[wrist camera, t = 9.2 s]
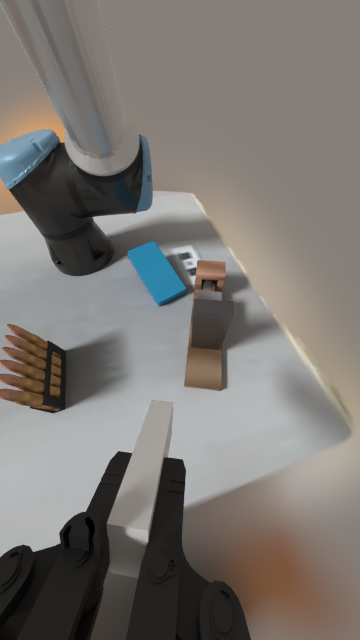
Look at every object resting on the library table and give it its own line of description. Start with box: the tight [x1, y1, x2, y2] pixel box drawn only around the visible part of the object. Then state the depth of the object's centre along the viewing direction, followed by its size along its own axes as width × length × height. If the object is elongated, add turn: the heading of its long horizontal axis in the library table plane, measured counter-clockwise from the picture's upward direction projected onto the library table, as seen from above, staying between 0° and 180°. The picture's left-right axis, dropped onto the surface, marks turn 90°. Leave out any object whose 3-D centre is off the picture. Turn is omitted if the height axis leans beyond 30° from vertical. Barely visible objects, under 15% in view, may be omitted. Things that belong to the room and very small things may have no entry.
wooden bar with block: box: [184, 260, 226, 391], centre depth 34 cm, size 24×6×7 cm, turn 173°
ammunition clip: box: [0, 324, 66, 413], centre depth 27 cm, size 11×2×12 cm, turn 18°
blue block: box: [127, 241, 186, 306], centre depth 44 cm, size 7×7×18 cm
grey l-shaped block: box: [191, 279, 233, 350], centre depth 32 cm, size 16×5×12 cm, turn 173°
